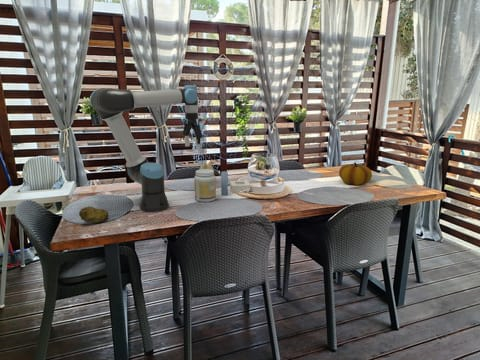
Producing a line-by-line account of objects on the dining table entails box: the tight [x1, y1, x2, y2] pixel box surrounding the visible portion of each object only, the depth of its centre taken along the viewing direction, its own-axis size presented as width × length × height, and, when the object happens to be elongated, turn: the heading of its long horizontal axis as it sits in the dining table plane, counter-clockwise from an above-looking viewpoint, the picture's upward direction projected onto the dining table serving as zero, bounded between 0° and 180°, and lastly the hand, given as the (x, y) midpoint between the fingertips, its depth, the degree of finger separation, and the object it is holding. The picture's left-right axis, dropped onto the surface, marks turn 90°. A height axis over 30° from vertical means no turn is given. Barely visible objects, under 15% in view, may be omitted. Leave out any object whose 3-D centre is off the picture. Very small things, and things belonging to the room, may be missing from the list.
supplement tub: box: [193, 168, 217, 203], centre depth 188 cm, size 12×12×17 cm
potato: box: [78, 206, 109, 224], centre depth 155 cm, size 8×13×8 cm, turn 120°
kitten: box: [198, 160, 215, 171], centre depth 221 cm, size 15×10×15 cm
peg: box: [220, 171, 229, 196], centre depth 196 cm, size 4×4×14 cm
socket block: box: [229, 179, 252, 194], centre depth 208 cm, size 12×12×4 cm
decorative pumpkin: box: [338, 161, 373, 186], centre depth 224 cm, size 20×22×15 cm
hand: (192, 147), depth 199 cm, fingers open, 13 cm apart
